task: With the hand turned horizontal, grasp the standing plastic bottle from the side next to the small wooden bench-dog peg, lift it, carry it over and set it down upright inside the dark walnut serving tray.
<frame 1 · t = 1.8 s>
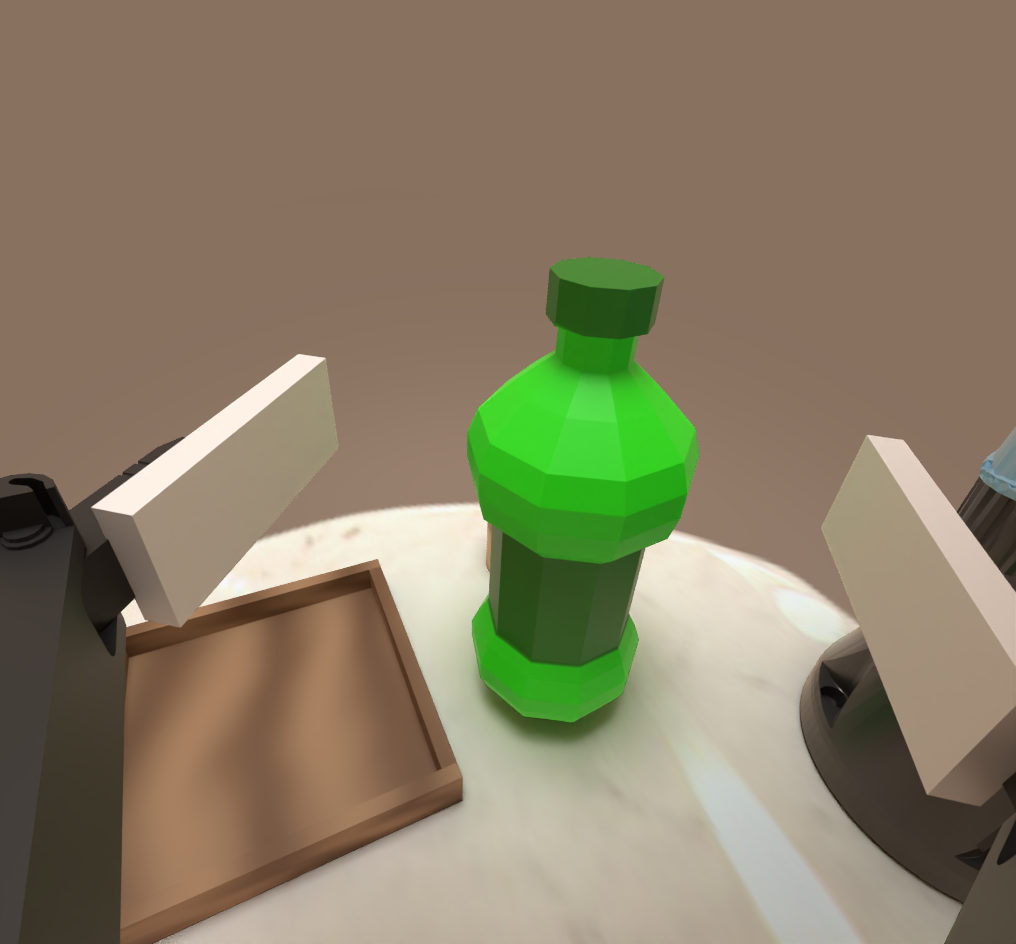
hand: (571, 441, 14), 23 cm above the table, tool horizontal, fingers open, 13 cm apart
plastic bottle: (547, 676, 35), on the table
tray: (274, 722, 32), on the table
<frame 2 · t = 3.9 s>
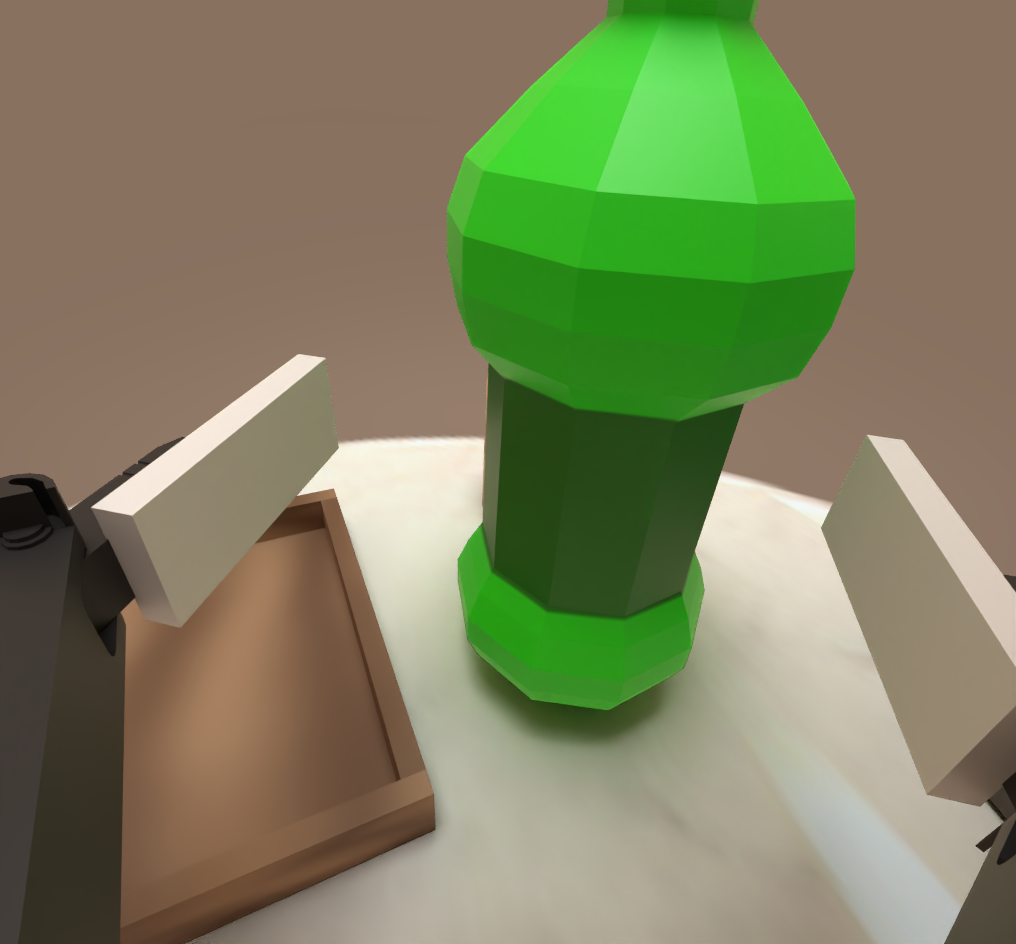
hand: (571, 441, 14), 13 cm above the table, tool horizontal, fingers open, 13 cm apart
plastic bottle: (566, 647, 25), on the table
tray: (159, 704, 21), on the table
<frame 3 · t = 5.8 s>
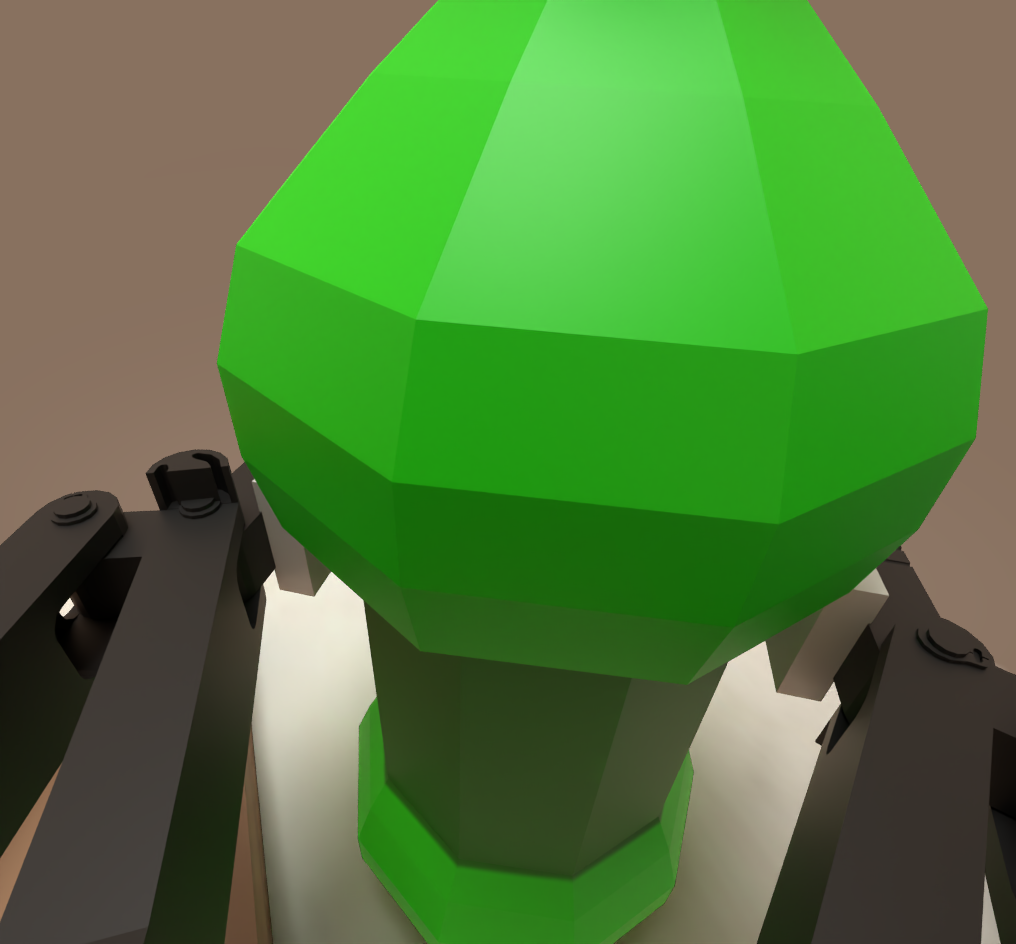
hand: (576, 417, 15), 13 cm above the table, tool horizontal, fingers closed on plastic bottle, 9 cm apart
plastic bottle: (514, 820, 19), on the table, touching gripper
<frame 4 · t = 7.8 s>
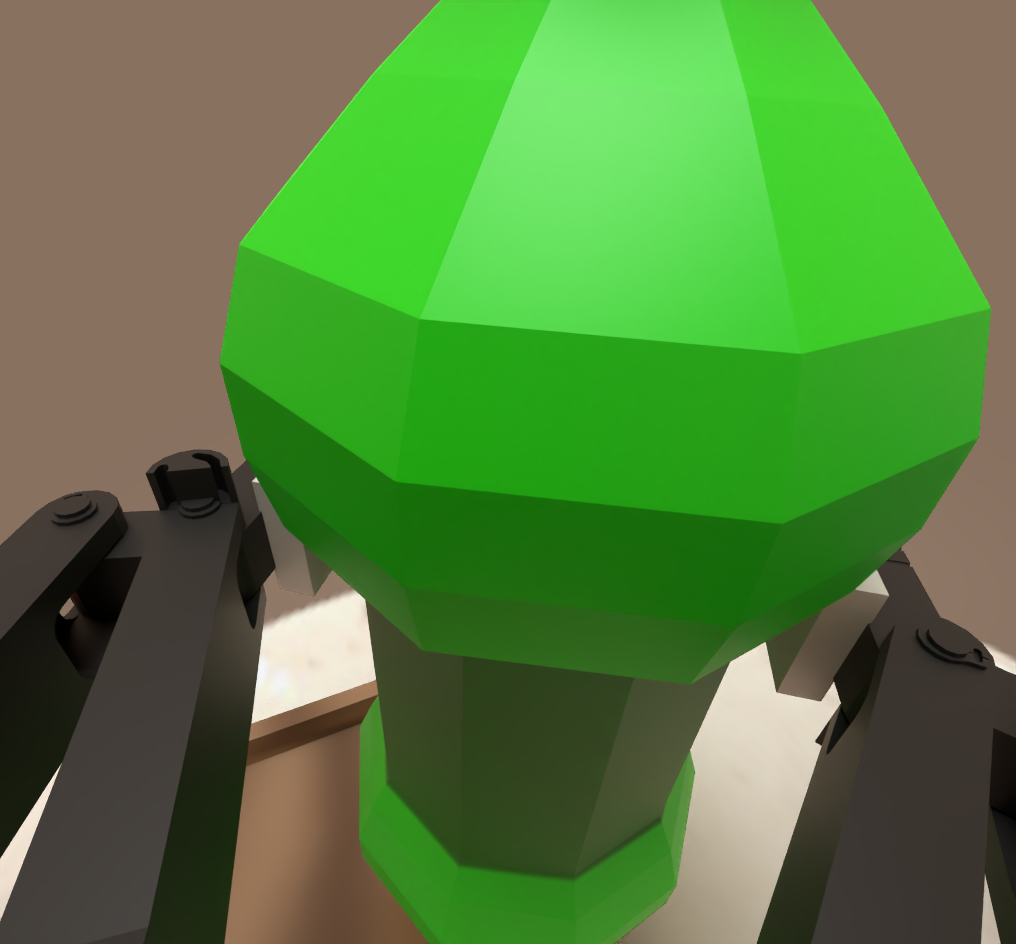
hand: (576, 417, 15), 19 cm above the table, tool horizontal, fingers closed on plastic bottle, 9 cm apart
plastic bottle: (515, 820, 19), point 6 cm above the table, touching gripper
tray: (347, 925, 21), on the table
when the fingers open (15 cm above the table, at t = 9.7 s): plastic bottle drops 1 cm, resting on tray.
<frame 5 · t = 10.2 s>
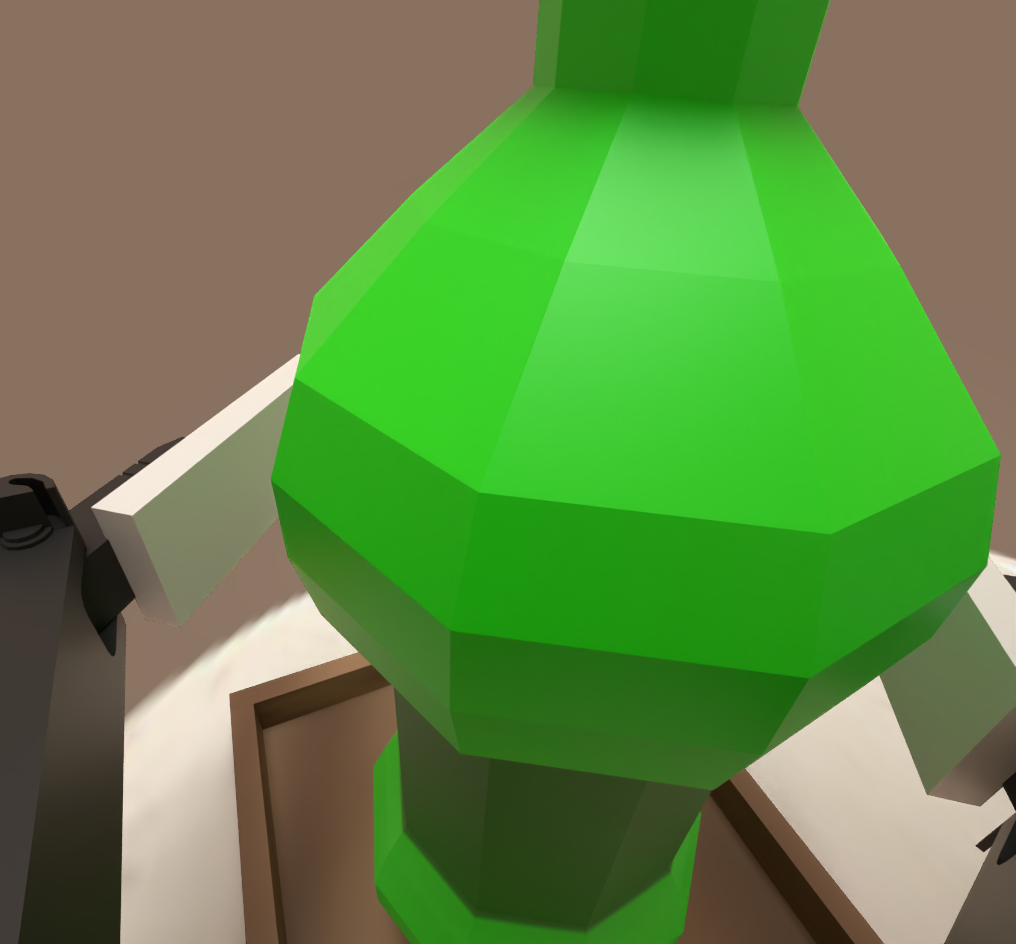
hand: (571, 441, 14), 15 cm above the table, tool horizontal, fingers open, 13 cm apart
plastic bottle: (522, 855, 19), resting on tray
tray: (511, 843, 20), on the table
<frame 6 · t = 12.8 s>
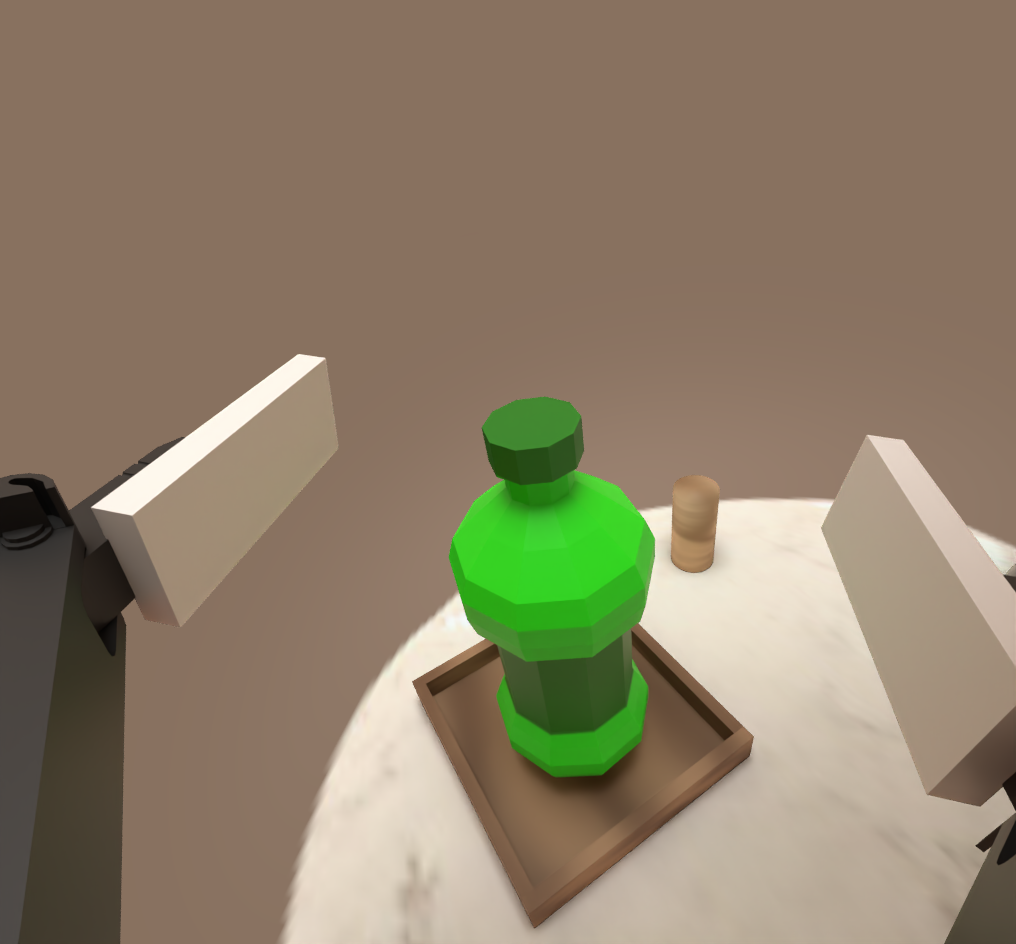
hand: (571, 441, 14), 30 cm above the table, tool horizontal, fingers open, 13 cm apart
plastic bottle: (576, 728, 39), resting on tray
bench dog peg: (691, 557, 50), on the table
tray: (570, 725, 39), on the table
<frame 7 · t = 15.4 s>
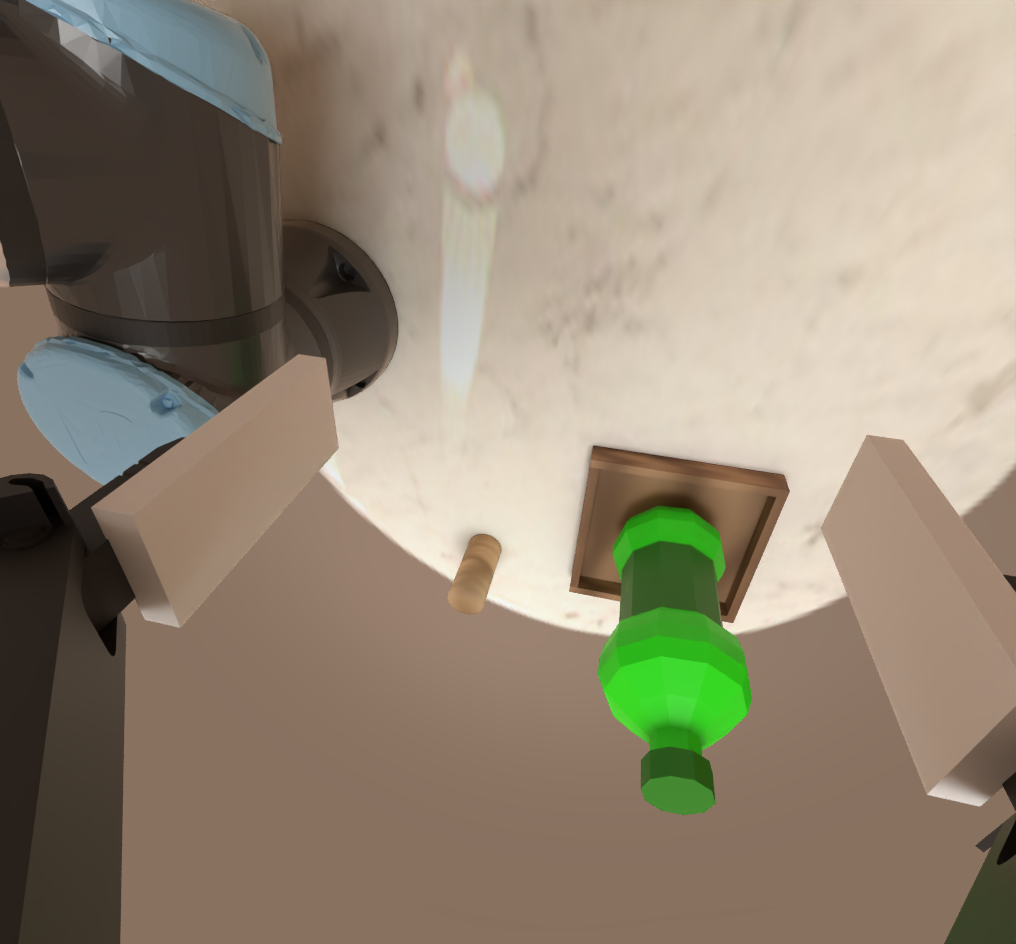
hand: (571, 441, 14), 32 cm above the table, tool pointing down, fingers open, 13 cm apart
plastic bottle: (666, 528, 53), resting on tray
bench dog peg: (485, 547, 60), on the table
tray: (666, 530, 54), on the table
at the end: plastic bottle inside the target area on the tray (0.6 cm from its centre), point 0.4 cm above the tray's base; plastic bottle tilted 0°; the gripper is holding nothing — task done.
